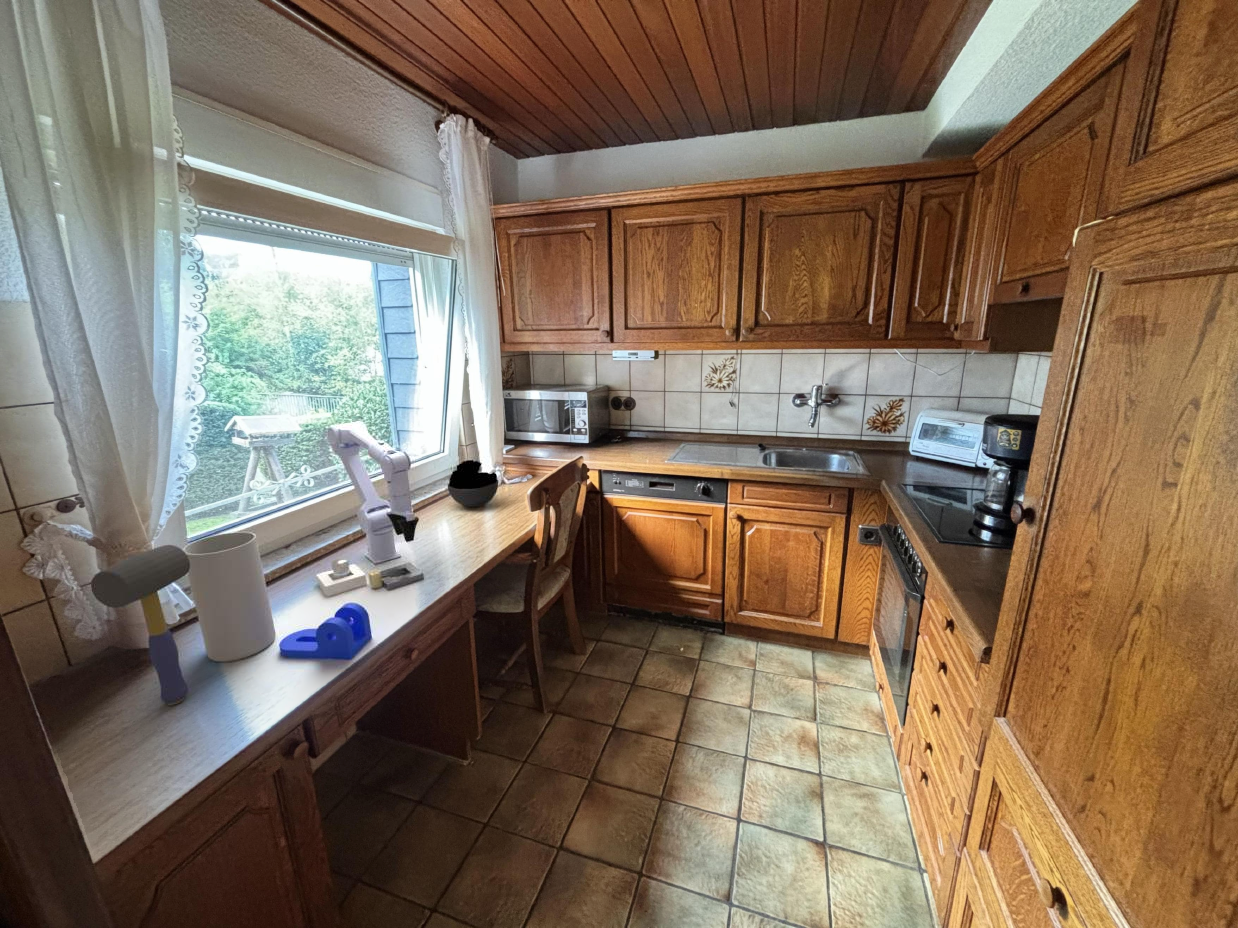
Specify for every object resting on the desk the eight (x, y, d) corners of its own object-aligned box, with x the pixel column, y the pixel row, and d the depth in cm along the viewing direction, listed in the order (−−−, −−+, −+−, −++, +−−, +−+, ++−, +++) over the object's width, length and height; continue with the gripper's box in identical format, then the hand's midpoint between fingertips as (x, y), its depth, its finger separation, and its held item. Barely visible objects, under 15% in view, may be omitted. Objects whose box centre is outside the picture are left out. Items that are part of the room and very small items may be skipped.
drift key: (369, 585, 141) (367, 571, 140) (388, 579, 145) (386, 566, 144) (373, 588, 139) (371, 575, 138) (392, 582, 143) (390, 569, 142)
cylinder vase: (194, 656, 110) (167, 550, 104) (251, 626, 122) (230, 529, 116) (233, 668, 106) (208, 558, 100) (289, 636, 118) (269, 535, 112)
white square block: (317, 584, 143) (316, 574, 142) (355, 573, 149) (354, 563, 149) (327, 596, 136) (325, 586, 135) (366, 584, 142) (365, 574, 142)
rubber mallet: (188, 678, 103) (153, 541, 96) (222, 680, 103) (189, 541, 95) (125, 723, 91) (80, 570, 84) (163, 725, 90) (121, 571, 83)
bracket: (372, 638, 117) (366, 602, 114) (350, 660, 109) (344, 622, 106) (298, 636, 118) (291, 601, 116) (271, 657, 110) (264, 620, 108)
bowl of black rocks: (487, 495, 222) (483, 454, 218) (508, 506, 207) (505, 461, 203) (442, 505, 210) (437, 461, 205) (461, 517, 195) (457, 470, 190)
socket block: (375, 578, 146) (374, 572, 145) (410, 567, 152) (409, 562, 152) (388, 590, 139) (387, 584, 138) (424, 578, 145) (423, 572, 145)
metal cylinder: (334, 583, 143) (331, 560, 142) (350, 579, 146) (347, 556, 144) (336, 588, 140) (332, 565, 138) (352, 584, 142) (348, 561, 141)
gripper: (377, 491, 150) (383, 534, 153) (393, 502, 140) (399, 548, 143) (401, 486, 155) (406, 528, 158) (419, 496, 144) (424, 541, 147)
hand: (405, 537), depth 151 cm, fingers open, 7 cm apart
